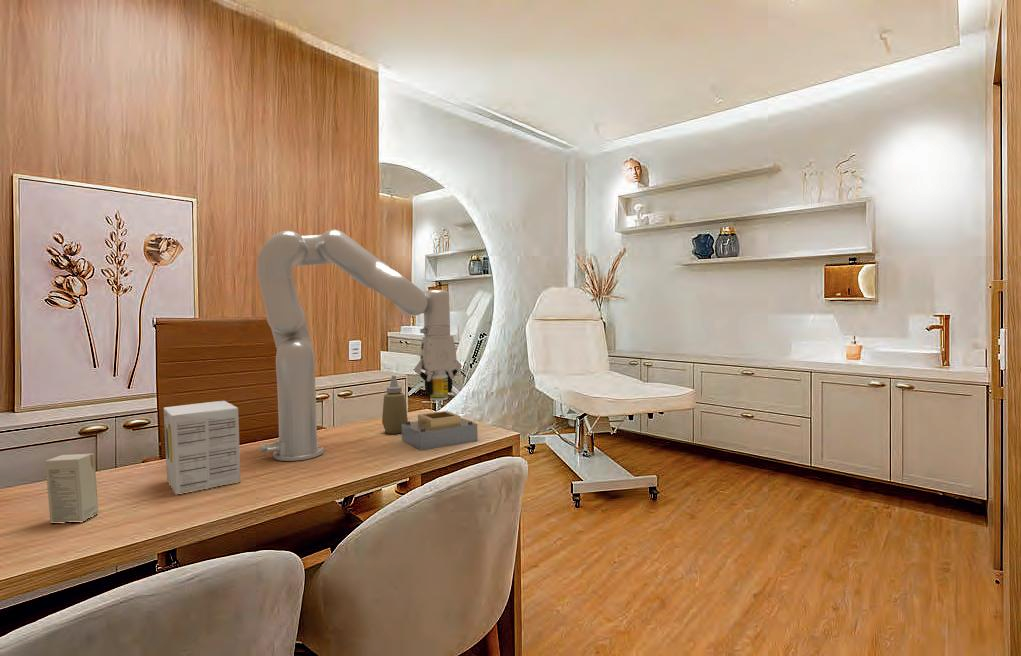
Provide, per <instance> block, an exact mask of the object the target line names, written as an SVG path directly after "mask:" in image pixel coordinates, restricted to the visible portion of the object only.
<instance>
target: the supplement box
mask: <svg viewBox="0 0 1021 656" xmlns="http://www.w3.org/2000/svg"><path fill="white" fill-rule="evenodd" d="M163 421H164V423H163V424H164V443H165V444H164V445H165V446H164V447H165V463H166V465H165V466H166V467H165V468H166V482H167V481H168V482H167V483H169V484H170V485H169V484H168V485H169V487H170V486H171V487H170V488H172V489H173V490H172V489H171V490H172V492H173V491H174V492H173V494H174V493H175V494H180V493H185V492H190V491H196V490H201V489H206V488H211V487H216V486H221V485H226V484H230V483H236V482H240V483H241V459H240V458H241V457H240V424H239V422H240V421H239V407H237V406H235V405H234V404H232V403H229V402H228V401H226V400H217V401H207V402H201V403H198V402H197V403H190V404H181V405H175V406H174V405H172V406H166V407H163ZM221 487H222V486H221ZM216 488H217V487H216ZM211 489H212V488H211ZM206 490H207V489H206ZM201 491H202V490H201ZM175 494H174V495H175Z"/></svg>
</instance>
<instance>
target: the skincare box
mask: <svg viewBox="0 0 1021 656" xmlns="http://www.w3.org/2000/svg"><path fill="white" fill-rule="evenodd" d="M95 463H96V462H95V453H94V452H93V453H79V454H78V453H75V454H73V453H72V454H71V453H70V454H61V455H58V456H55V457H53V458H52V457H51V458H49V459H47V460H45V461H44V464H45V471H46V472H45V475H46V485H47V496H48V497H47V499H48V509H49V520H50V522H69V521H84V520H86V519H88V518H89V517H91V516H93V515H95V514H97V513H100V511H99V501H98V490H97V489H98V487H97V476H96V473H97V472H96V464H95ZM88 520H89V519H88ZM86 521H87V520H86Z"/></svg>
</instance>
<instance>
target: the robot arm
mask: <svg viewBox="0 0 1021 656" xmlns="http://www.w3.org/2000/svg"><path fill="white" fill-rule="evenodd" d="M258 253H259V254H258V256H257V261H256V272H257V273H256V274H257V280H258V283H259V287H260V291H261V297H262V300H263V305H264V308H265V313H266V315H265V316H266V321H267V324H268V326H269V327H270V329H271V333H272V336H273V341H274V344H275V348H276V354H275V370H276V372H275V373H276V386H277V387H276V388H277V414H278V438H276V441H273V442H272V443H267V444H265V443H264V444H260V446H259V451H260V453H273V459H275V460H277V461H282V462H283V461H285V462H295V461H304V460H308V459H313V458H316V457H319V456H320V455H323V453H324V448H323V446H320V445H318V429H317V428H318V425H317V397H316V396H317V395H316V355H315V350H314V345H313V343H312V339H311V334H310V329H309V326H308V323H307V320H306V319H307V318H306V314H305V311H304V309H303V307H302V305H301V303H300V299H299V298H298V297H299V296H298V292H297V289H296V288H297V287H296V283H295V279H294V275H293V268H294V267H297V266H298V267H300V266H311V265H312V266H313V265H326V264H327V265H328V264H333V265H334V266H336V267H338V269H340V270H342V271H343V272H344V273H346V274H347V275H349V276H350V277H351V279H353V280H355V281H356V282H357V283H359V284H360V285H362V286H363V287H365V288H368V289H371V290H373V291H375V292H377V293H379V294H381V295H382V296H383V297H385V298H386V299H387V300H389V301H391V302H392V303H393V304H395V306H396V309H397V310H398V311H399V312H400V314H402V315H405V316H410V317H411V316H412V317H413V316H420V315H421V314H423V323H424V324H423V328H420V329H419V332H420V334H423V337H422V339H421V343H420V345H421V346H420V356H419V357H420V359H419V361H418V363H417V364H416V366H415V367H414V368H413V372H414V373H416V374H417V375H418V376H419V377H420V378H421V379H422V380H424V391H425V394H426V395H429V396H430V395H432V394H433V384H432V381H431V376H432V374H433V371H444V370H445V372H444V373H446V374H447V376H448V394H449V393H452V392H453V391H452V390H453V379H454V377H455V376H456V374H457V373H458V372H459V371H460V370H461V368H462V367H463V366H462V364H461V363H460V362H459V360H458V358H457V350H456V349H457V348H456V344H455V339H454V336H452V335H451V317H450V316H451V313H450V311H451V310H450V293H449V292H448V291H447V290H445V289H428V290H426V291H423V290H422V289H421V288H419V287H418V286H416V285H415V284H414V283H412V281H410V280H409V279H408V278H406V277H405V276H403V275H402V274H401V273H399V272H398V271H397V270H395V269H394V268H392V267H391V266H389V265H388V264H387V263H385V262H384V261H382V260H380V259H379V258H378V257H376V256H375V255H374V254H372V253H371V252H370V251H368V250H367V249H366V248H365V247H363V246H362V245H360V244H359V243H358V242H357V241H356V240H354V239H353V238H351V236H350V235H349V236H348V234H346V233H344V232H343V231H341V230H338V229H328V230H326V231H325V232H323V233H322V234H313V235H312V234H311V235H310V234H308V235H301V234H299V233H297V232H296V231H293V230H283V231H278V232H277V233H275V234H274V235H272V236H270V238H268V240H266V241H265V243H264V244H263V245H262V247H261V249H260V251H259V252H258ZM422 370H423V371H424V372H423V371H422Z"/></svg>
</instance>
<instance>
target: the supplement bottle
mask: <svg viewBox="0 0 1021 656" xmlns="http://www.w3.org/2000/svg"><path fill="white" fill-rule="evenodd" d="M431 381H432V384H433V394H432V395H429V398H430V400H431V401H435V402H439V401H440V402H441V401H445V400H448V399H449V392H448V376H447V374H446V373H445V370H444V371H433V373H432V376H431Z"/></svg>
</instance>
